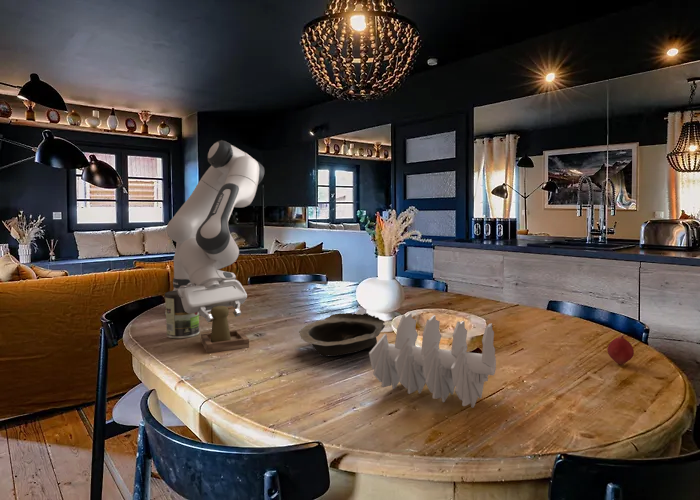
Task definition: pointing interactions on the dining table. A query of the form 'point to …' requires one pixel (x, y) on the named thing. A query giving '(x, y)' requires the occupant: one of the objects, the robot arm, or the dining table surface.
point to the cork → (220, 324)
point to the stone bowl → (343, 333)
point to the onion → (620, 350)
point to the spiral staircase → (434, 361)
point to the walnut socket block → (225, 342)
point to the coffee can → (179, 318)
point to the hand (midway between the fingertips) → (225, 318)
